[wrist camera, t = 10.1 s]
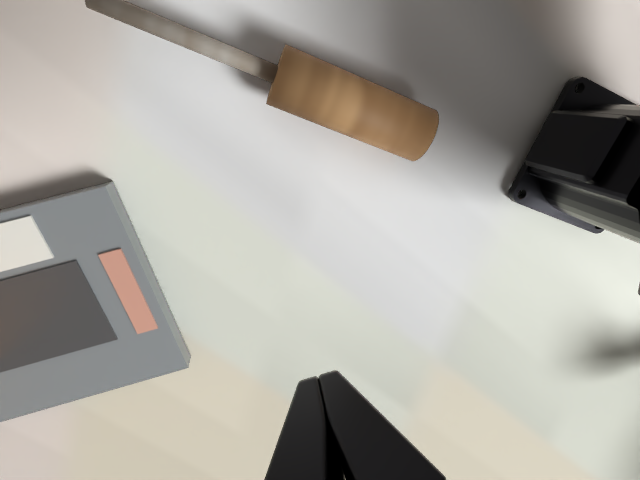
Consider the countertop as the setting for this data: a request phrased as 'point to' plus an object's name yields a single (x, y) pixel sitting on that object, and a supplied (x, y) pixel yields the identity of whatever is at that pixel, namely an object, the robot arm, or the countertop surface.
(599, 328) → the countertop surface
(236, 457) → the countertop surface
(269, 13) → the countertop surface
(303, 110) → the wooden handled tool
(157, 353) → the switch board
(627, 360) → the countertop surface
